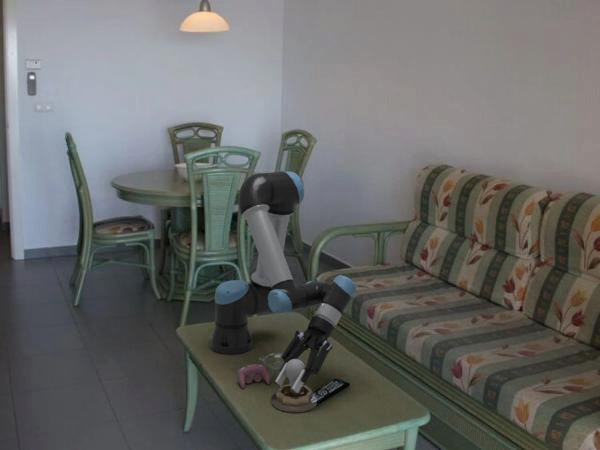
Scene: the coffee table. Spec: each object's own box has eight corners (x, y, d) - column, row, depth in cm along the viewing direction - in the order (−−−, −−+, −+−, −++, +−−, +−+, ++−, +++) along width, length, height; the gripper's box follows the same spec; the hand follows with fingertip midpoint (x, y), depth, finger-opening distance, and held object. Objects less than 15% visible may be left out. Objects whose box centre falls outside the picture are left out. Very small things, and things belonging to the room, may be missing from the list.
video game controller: (267, 384, 223) (264, 362, 224) (271, 384, 219) (268, 361, 220) (237, 389, 219) (235, 366, 221) (241, 388, 215) (238, 365, 216)
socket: (263, 396, 211) (263, 386, 210) (304, 388, 217) (304, 377, 217) (283, 416, 199) (284, 405, 198) (326, 407, 205) (326, 396, 204)
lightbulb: (302, 399, 204) (303, 365, 202) (282, 397, 205) (283, 362, 203) (306, 390, 210) (307, 356, 208) (286, 388, 211) (287, 354, 209)
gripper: (353, 335, 209) (316, 403, 200) (306, 319, 221) (269, 382, 213) (343, 323, 204) (304, 392, 195) (295, 307, 216) (257, 371, 208)
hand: (286, 387), depth 204 cm, fingers closed on lightbulb, 6 cm apart
